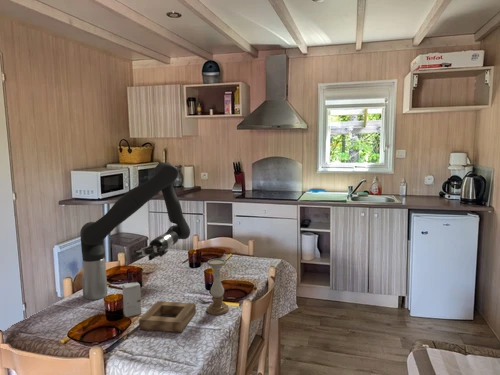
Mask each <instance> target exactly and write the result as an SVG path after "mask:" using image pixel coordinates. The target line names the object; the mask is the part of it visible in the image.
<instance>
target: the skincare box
mask: <svg viewBox="0 0 500 375" xmlns="http://www.w3.org/2000/svg"><path fill="white" fill-rule="evenodd" d="M122 302H123V305H122V306H123V314H124V316H125V317H126V318H129V317H133V316H137V315H141V314H142V303H141V302H142V298H141V284H140V283H139V282H138V281H134V282H128V283H123V284H122Z"/></svg>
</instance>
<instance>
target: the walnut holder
mask: <svg viewBox="0 0 500 375" xmlns="http://www.w3.org/2000/svg"><path fill="white" fill-rule="evenodd" d="M196 309H197V308H196V303H193V302H192V303H191V302H180V301H179V302H177V301H164V300H163V301H162V300H161V301H160V300H159V301H158V300H157V301H156V302H155V303H154V304H153V305H152V306H150V308H149V309H148V310H147V311H145V313H144V314H143V315H141V317H140V318H139V319H138V326H139V331H147V332H148V331H150V332H159V333H160V332H161V333H175V334H182V333H183V332H184V330H185V329H186V328H187V326H188V325H189V323H190V322H191V321H192V319H193V318H194V317H195V315H196V313H197V310H196Z"/></svg>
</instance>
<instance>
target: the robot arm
mask: <svg viewBox="0 0 500 375" xmlns="http://www.w3.org/2000/svg"><path fill="white" fill-rule="evenodd" d="M178 175H179V170H178V168H177V167H176V166H175V165H173V164H171V163H168V162H160V163H157V165H156V166H155V168H154V175H153V177H151V178H150V179H148V180H147V181H146V182H144V183H142V184H140V185H137V186H135V187H134V188H133V187H132V189H129V190H128V191H126V193H125V194H123V195H122V196H121V197H120V198H118V200H117V201H115V203H113V205H112V206H111V208H110V209H109V210H108V211H107V212H106V213H105V214H104V215H103V216H101V217H100V218H98V219H97V220H96V221H89V222H87V223H85V224H84V225H82V227H81V229H80V236H79V237H80V247H81V255H82V256H81V257H82V267H83V268H82V270H83V275H82V276H81V285H82V297H83V299H86V300H90V301H93V300H95V301H96V300H100V299H103V298H104V297H106V296H108V280H107V262H106V251H105V246H104V245H105V244H104V240H105V239H106V238H107V236H108V235H109V234H111V233H112V231H114V229H116V228H117V227H118V226H120V225H121V224H122V223H123V222H124V221H126V220H127V219H128V218H130V217H131V216H132V215H133V214H135V213H136V212H138V211H139V209H142V207H144V206H145V204H147V203H148V202H149V201H150V200H151V199H152V198H154V197H155V196H156V195H157V194H158V193H160V192H161V193H162V197H163V200H164V204H165V208H166V212H167V216H168V220H169V222H170V223H171V224H174V225H171V226H169V228H168V229H167V230H166V232H164V233H162V234H161V235H158V236H157V237H155V238H153V239H152V240H150V243H149V245H147V246H146V247H144V246H143V245H141V246H139V247H137V248H136V249H134V250H133V254H131V260H132V261H135V260H136V259H138V258H139V257H146V256H147V257H148V261H152V260H154V259H155V258H159V257H160V258H161V257H163V256H164V255H166V254H167V253H168V251H169V249H171V248H172V247H173V246H174V245H175V244H177V242H179V240H187V239H188V238H189V237H190V235H191V229H190V227H189V224H188V222H187V221H186V219H185V216H184V214H183V209H182V206H181V203H180V200H179V198H178V196H177V194H176V191H175V188H174V182H175V181H176V180H177V179H178V177H179V176H178Z"/></svg>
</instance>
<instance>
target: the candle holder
mask: <svg viewBox="0 0 500 375" xmlns="http://www.w3.org/2000/svg"><path fill="white" fill-rule="evenodd" d="M206 264H207V267H208V266H209V267H211V269H212V270H213V272H212V274H211V275H212V276H213V283H212V286H211V288H210V295H211V296H212V297H211V301H213V302H211V303H210V304H209V305H208V306H207V307H206V312H207V313H209V314H210V315H215V316H216V315H224V314H225V313H226V314H227V312H228V311H229V310H230V307H229V305H228V304H226V303H225V302H223V300H224V296H223V295H224V294H225V288H224V286H223V283H222V280H221V276H222V272H221V269H222V268H223V267H224V266H225V265H227V261H226V259H222V258H212V259H209V260H208V261H207V262H206Z"/></svg>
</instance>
